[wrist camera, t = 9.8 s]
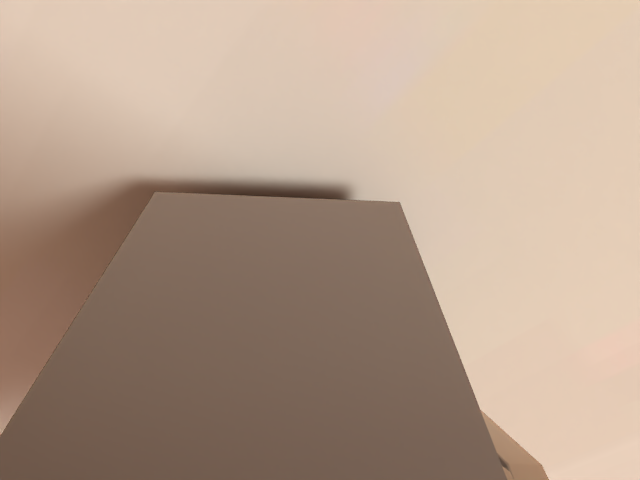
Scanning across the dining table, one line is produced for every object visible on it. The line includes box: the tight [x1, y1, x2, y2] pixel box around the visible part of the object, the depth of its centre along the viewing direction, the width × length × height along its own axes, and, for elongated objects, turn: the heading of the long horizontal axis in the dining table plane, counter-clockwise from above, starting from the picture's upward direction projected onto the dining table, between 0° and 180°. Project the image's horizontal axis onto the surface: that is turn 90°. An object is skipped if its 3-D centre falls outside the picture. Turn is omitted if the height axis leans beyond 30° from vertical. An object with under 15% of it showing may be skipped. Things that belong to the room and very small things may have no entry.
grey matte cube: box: [0, 192, 507, 480], centre depth 11 cm, size 7×7×9 cm
